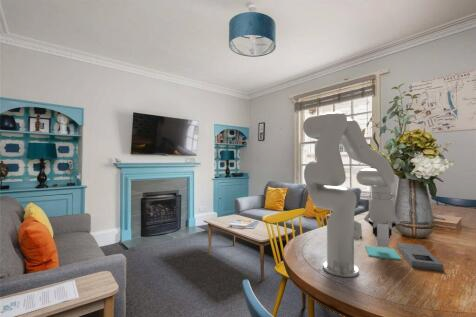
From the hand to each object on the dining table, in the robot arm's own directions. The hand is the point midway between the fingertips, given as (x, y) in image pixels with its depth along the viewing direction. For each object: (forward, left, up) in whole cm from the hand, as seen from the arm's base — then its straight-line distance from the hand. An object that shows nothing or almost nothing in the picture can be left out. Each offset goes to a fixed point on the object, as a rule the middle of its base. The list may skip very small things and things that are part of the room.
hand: (382, 236), depth 108 cm
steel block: (0, 0, -4) cm, 4 cm away
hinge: (+24, +14, -8) cm, 29 cm away
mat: (0, 0, -8) cm, 8 cm away
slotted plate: (-1, -13, -8) cm, 15 cm away
